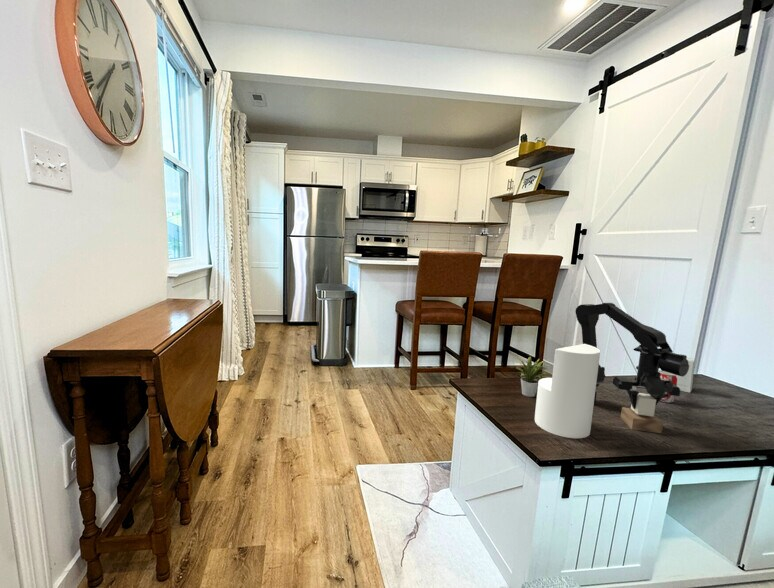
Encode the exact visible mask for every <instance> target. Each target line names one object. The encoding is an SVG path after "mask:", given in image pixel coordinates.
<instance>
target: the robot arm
mask: <svg viewBox="0 0 774 588" xmlns="http://www.w3.org/2000/svg"><path fill="white" fill-rule="evenodd" d="M601 315H606V316H607V317H609V318H610V319H611V320H613V321H614V322H616V323H617V324H619V325H620V326H621V327H622V328H624V329H625V330H627V331H628V332H629V333H630V334H631V335H632V336H633V338H634V339H635V341H636V342H637V343H638V344H639V345H638V346H636V347H635V348H633V349H632V350H633V351H635V352H637V353H639V359H638V365H636V366H635V369H636V370H637V371H636V376H634V381H631V380H630V379H628V378H627V377H624V376H623V377H622V376H614V378H613V379H612V384H613V385H614V386H615V387H616V388H617V389H618V390H624V391H626V393H627V394H628V397H629V400H630V405H631V404H632V407H633V408H634V409H635V407H636V401H637V395H638V393H640V392H639V391H638V390H637V389H644V390H646V392H647V394H649V395H651V396H652V397H653V398H654V399H656V405H655V407H656V406H657V405H658V403H659V402H661V401H660V400H661V399H662V398H664V397H668V396H669V395H667V392H668V393H669V394H670V395H673V396H675V397H680V396H681V395H682V393H681V392H682V391H681V390H680V388H679V387H677V386H676V385H674V384H673V383H672V381H666V380H665V381H664V380H661V378H660V372H659V371H665V372H668V373H672V374H675V375H679V376H682V377H683V376H685V375H686V374H687V372H688V370H689V363H688V360H687V358H688V357H687V355H686V354H679V353H675V352H674V351H673V350H672V348H671V346H670V344H669V343H668V341H667V336H666V335H665V333H663V331H660V330H658V329H656V328H654V327H652V326H648V325H646V324H644V323H642V322H640V321H638V320H637V319H636V318H634V317H632V316H631V315H630V314H629V313H627V312H625V311H624V310H622V309H621V308H620V307H618V306H617V305H616V304H615V303H614V302H603V303H599V304H598V303H597V304H593V303H591V304H588V303H586V304H579V305H577V307H575V316H576V321H577V322H578V323H579V325H580V328H581V339H582V344H587V345H591V346H593V347H596V348H598V347H597V346H598V343H597V331H596V330H597V329H596V327H597V324H598V321H599V320H600V319H599V318H600V316H601ZM659 369H660V370H659ZM605 370H606V369H605V367H604V366H601V365H600V364H599V366H598V374H597V382H596V388H598V387H599V386H600V385H601V384H602V383H604V381H605V378H606V374H605V372H606V371H605ZM596 403H597V389H596V390H595V398H594V405H597V404H596Z"/></svg>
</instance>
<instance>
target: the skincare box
mask: <svg viewBox="0 0 774 588" xmlns="http://www.w3.org/2000/svg"><path fill="white" fill-rule="evenodd" d="M687 360H688V363H689V370H688V372H687V374H686V375H685V376H683V377H682V376H679V375H676V377H677V387H679V388H680V390H681V392H685V393H691V392H692V390H693V383H694V382H693V380H694V370H695V365H696V364H695V363H696V358H691V357H687Z"/></svg>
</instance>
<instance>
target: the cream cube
mask: <svg viewBox="0 0 774 588" xmlns="http://www.w3.org/2000/svg"><path fill="white" fill-rule="evenodd" d="M630 405H631V406H630V408H631V409H632V410H633V411H634V412H635V413H636V414H638V415H646V416H654V415H655V412H656V406H657V405H656V399H654V398H653V397H652V396H651V395H650V394H649V393H643V392H639V393H638V395H637V401H636V407H635V409H634V408H633V407H632V404H631V403H630ZM655 405H656V406H655Z"/></svg>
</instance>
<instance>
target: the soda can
mask: <svg viewBox="0 0 774 588" xmlns="http://www.w3.org/2000/svg"><path fill="white" fill-rule="evenodd" d="M658 372H660V378H661V380H664V381H665V380H666V381H672V383H673V384H674V385H676V386H677V377H676V375H675V374H672V373H668V372H665V371H662V370H659V371H658ZM667 395H669V396H668V397H664V398H662V399H661V400H660V401H659V402H662V403H665V404H670V403H673V402H675V401H674V400H675V397H676V396H673V395H670V394H669V393H668V392H667Z"/></svg>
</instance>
